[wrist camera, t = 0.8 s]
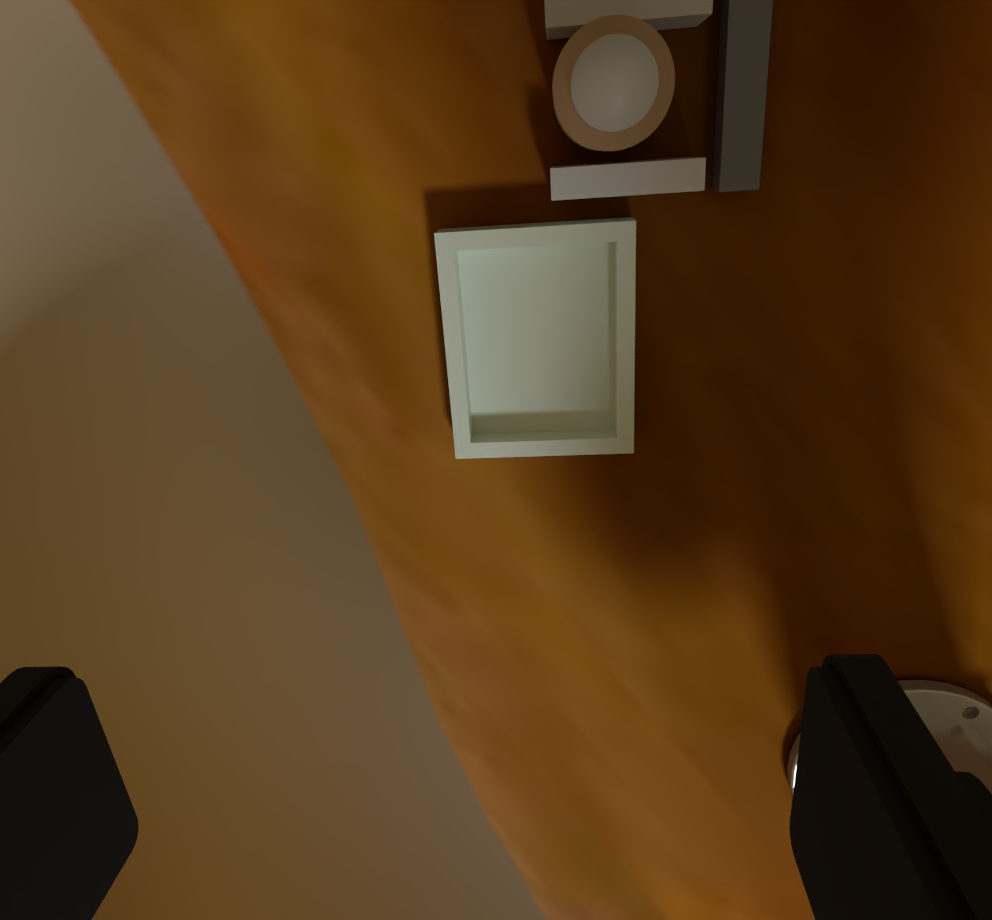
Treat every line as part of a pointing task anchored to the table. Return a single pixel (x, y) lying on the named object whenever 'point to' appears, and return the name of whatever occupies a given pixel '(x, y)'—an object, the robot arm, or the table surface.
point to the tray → (540, 336)
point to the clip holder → (737, 99)
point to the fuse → (613, 83)
